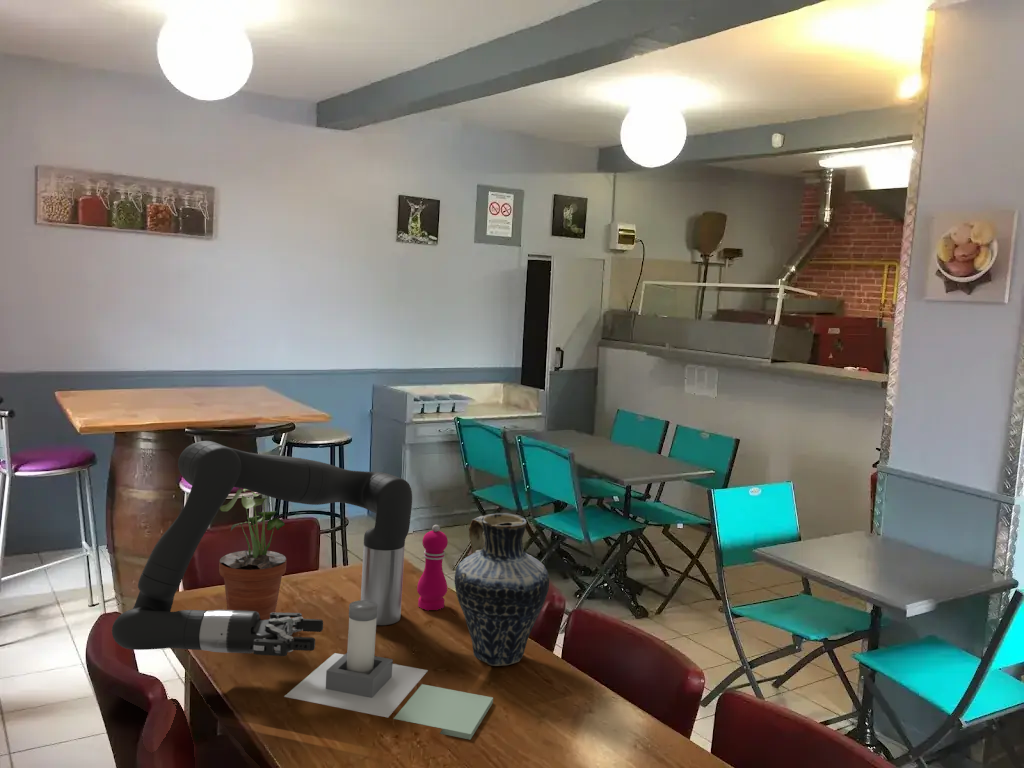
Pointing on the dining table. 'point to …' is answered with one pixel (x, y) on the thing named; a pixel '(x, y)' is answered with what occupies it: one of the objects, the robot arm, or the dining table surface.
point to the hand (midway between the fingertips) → (318, 634)
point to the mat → (446, 710)
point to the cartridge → (361, 636)
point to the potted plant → (253, 565)
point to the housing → (358, 686)
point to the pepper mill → (433, 571)
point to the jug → (500, 588)
